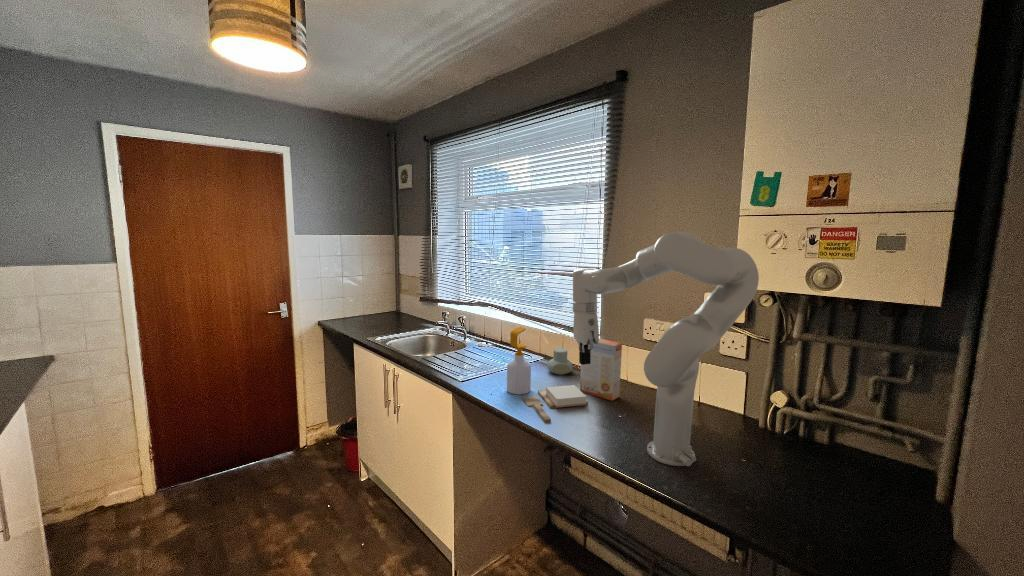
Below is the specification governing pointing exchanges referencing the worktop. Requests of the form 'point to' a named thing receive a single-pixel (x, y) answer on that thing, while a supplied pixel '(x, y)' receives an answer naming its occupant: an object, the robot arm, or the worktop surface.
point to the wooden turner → (537, 407)
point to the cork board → (547, 400)
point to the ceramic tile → (565, 396)
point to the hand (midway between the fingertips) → (584, 363)
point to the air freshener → (560, 362)
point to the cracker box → (603, 370)
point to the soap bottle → (518, 368)
